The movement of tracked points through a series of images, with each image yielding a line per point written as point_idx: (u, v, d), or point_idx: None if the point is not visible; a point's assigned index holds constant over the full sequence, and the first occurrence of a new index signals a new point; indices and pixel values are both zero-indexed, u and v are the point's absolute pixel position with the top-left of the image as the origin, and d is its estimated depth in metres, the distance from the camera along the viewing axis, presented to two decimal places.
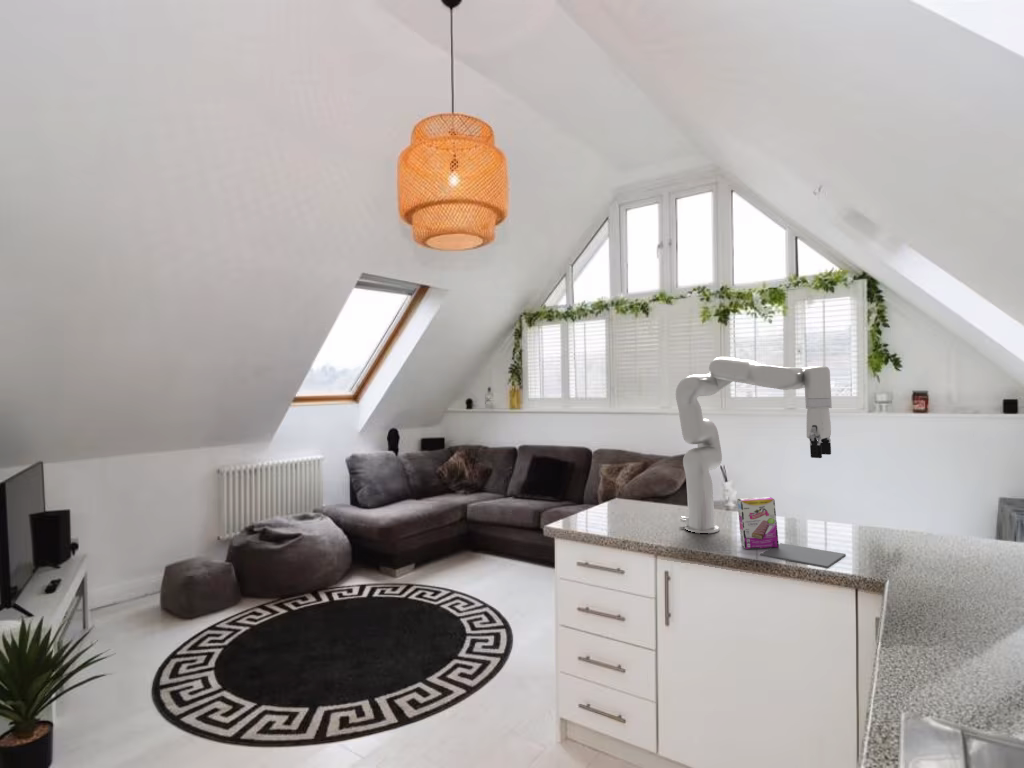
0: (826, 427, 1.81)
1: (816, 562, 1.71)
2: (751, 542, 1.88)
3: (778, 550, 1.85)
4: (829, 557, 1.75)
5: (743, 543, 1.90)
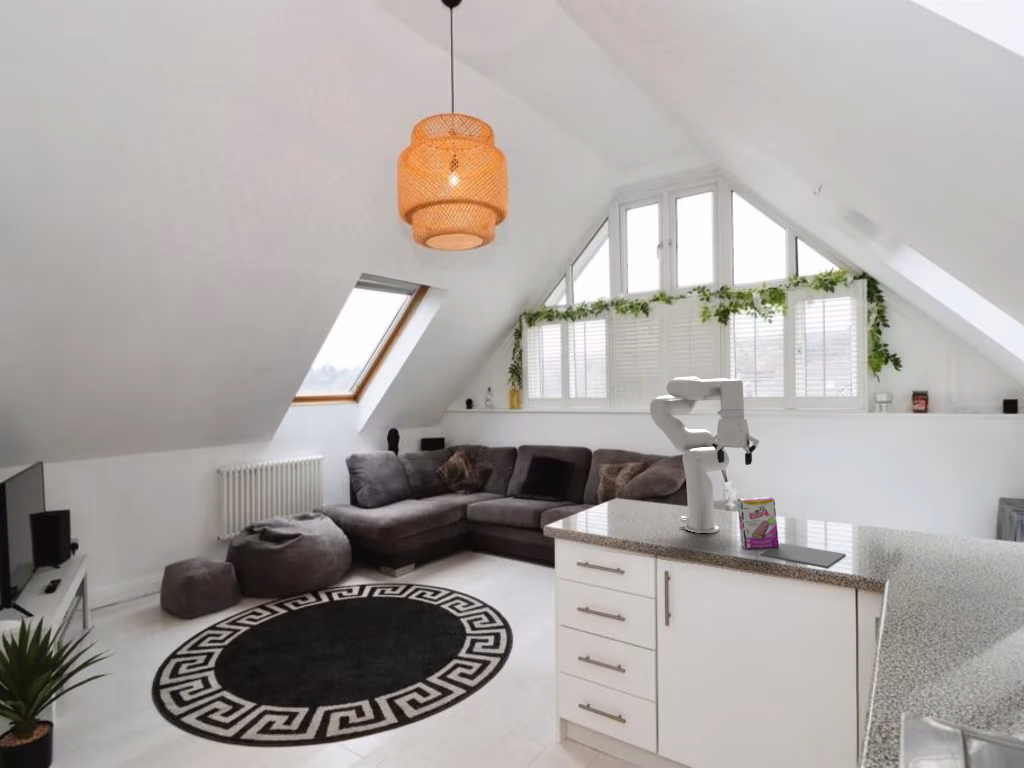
0: None
1: (816, 562, 1.71)
2: (751, 542, 1.88)
3: (778, 550, 1.85)
4: (829, 557, 1.75)
5: (743, 543, 1.90)
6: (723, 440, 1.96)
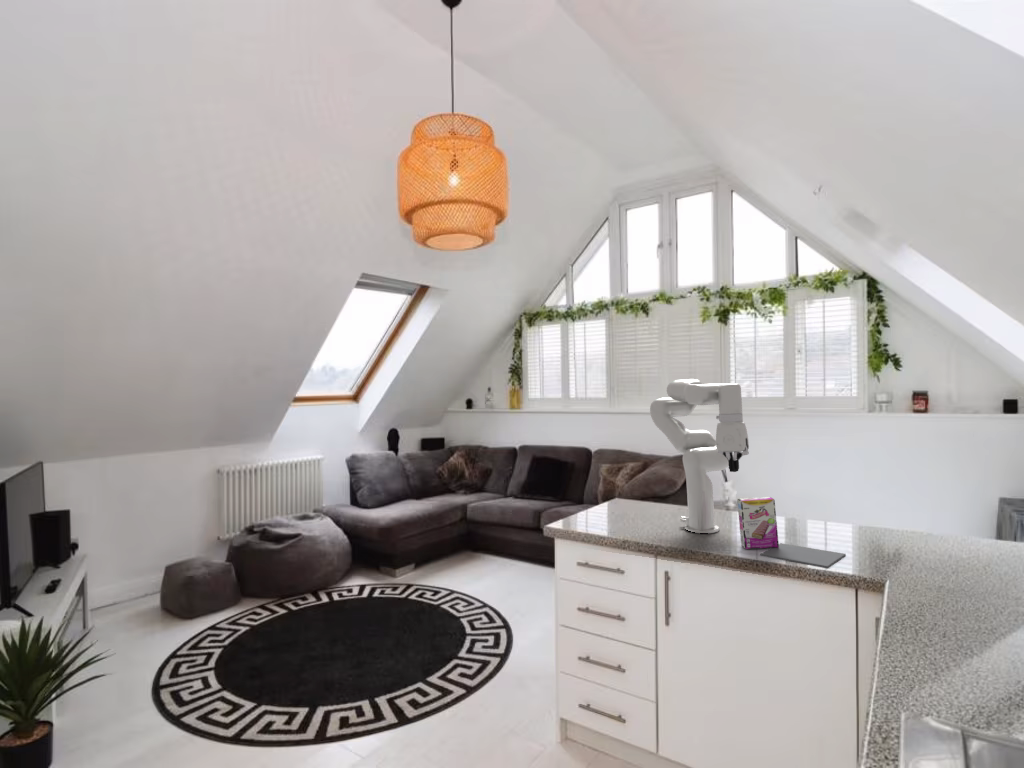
0: None
1: (816, 562, 1.71)
2: (751, 542, 1.88)
3: (778, 550, 1.85)
4: (829, 557, 1.75)
5: (743, 543, 1.90)
6: (722, 444, 1.96)
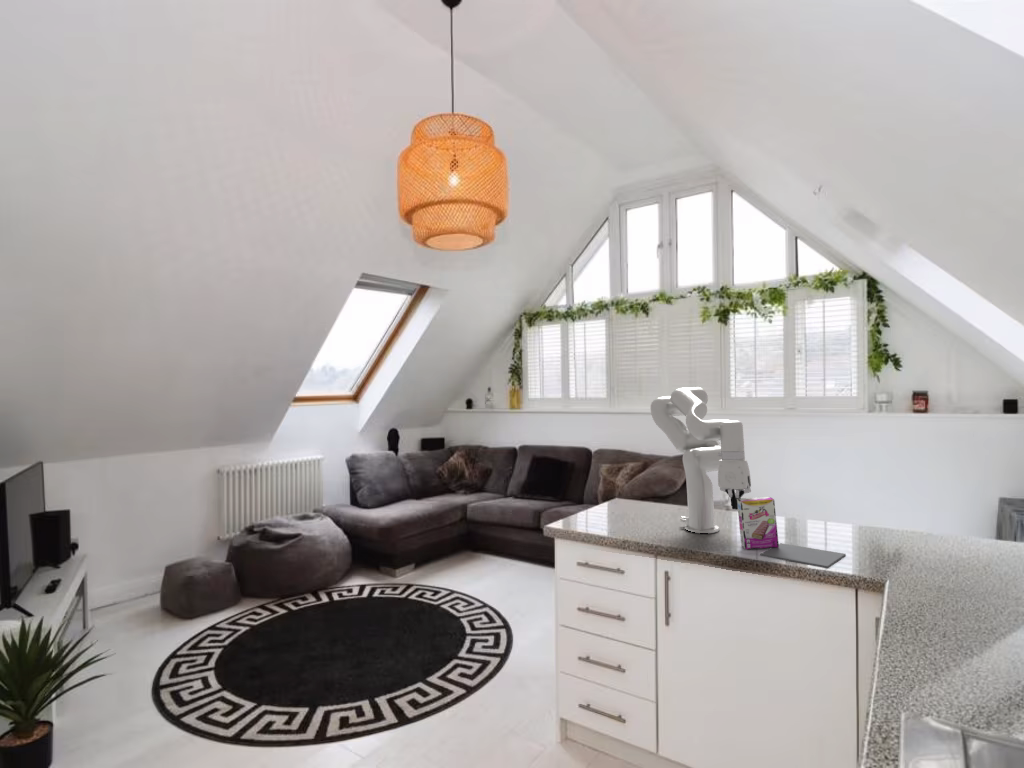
0: None
1: (816, 562, 1.71)
2: (751, 542, 1.88)
3: (778, 550, 1.85)
4: (829, 557, 1.75)
5: (743, 543, 1.90)
6: (724, 482, 1.96)
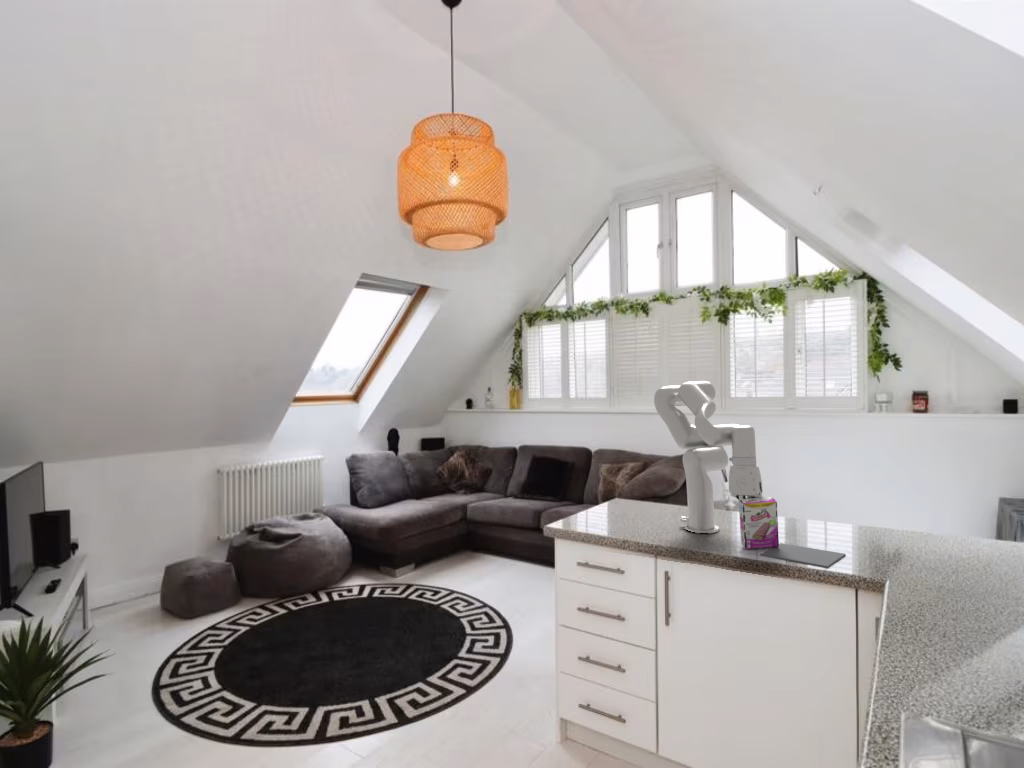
0: None
1: (816, 562, 1.71)
2: (751, 543, 1.88)
3: (778, 550, 1.85)
4: (829, 557, 1.75)
5: (743, 543, 1.89)
6: (735, 488, 1.93)
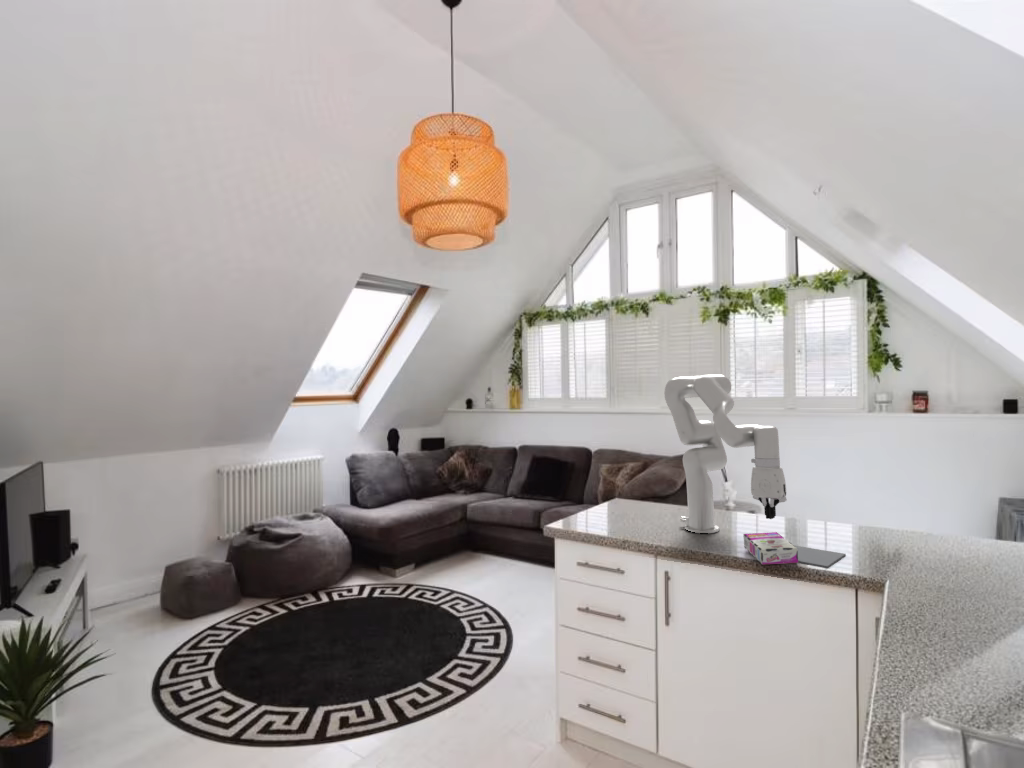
0: None
1: (816, 562, 1.71)
2: None
3: None
4: (829, 557, 1.75)
5: (745, 544, 1.87)
6: (758, 490, 1.87)
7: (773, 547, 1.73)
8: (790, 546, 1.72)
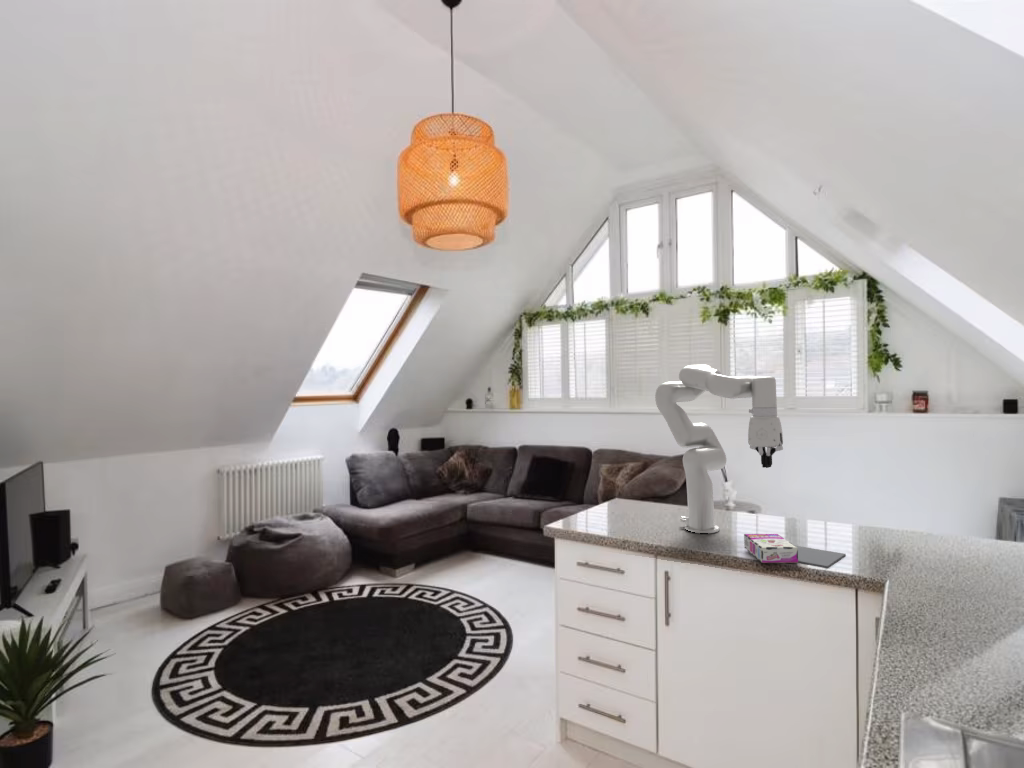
0: None
1: (816, 562, 1.71)
2: None
3: None
4: (829, 557, 1.75)
5: (745, 544, 1.87)
6: (755, 439, 1.89)
7: (774, 545, 1.73)
8: (790, 546, 1.73)
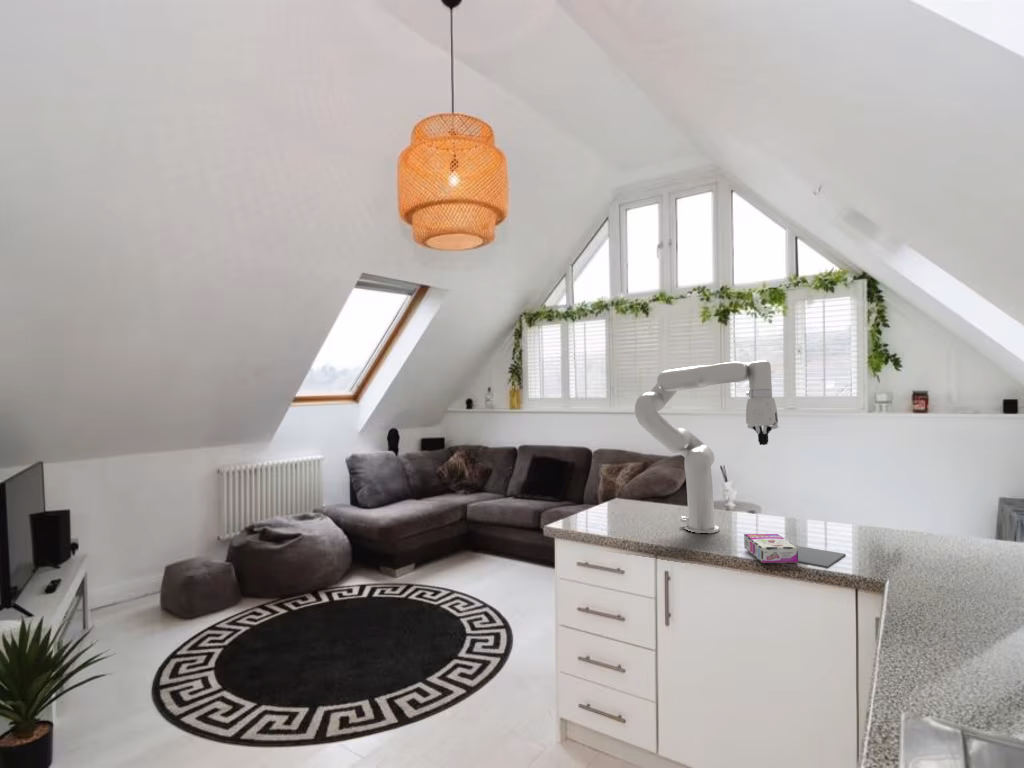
0: None
1: (816, 562, 1.71)
2: None
3: None
4: (829, 557, 1.75)
5: (745, 544, 1.87)
6: (752, 419, 2.06)
7: (774, 545, 1.73)
8: (790, 546, 1.73)
